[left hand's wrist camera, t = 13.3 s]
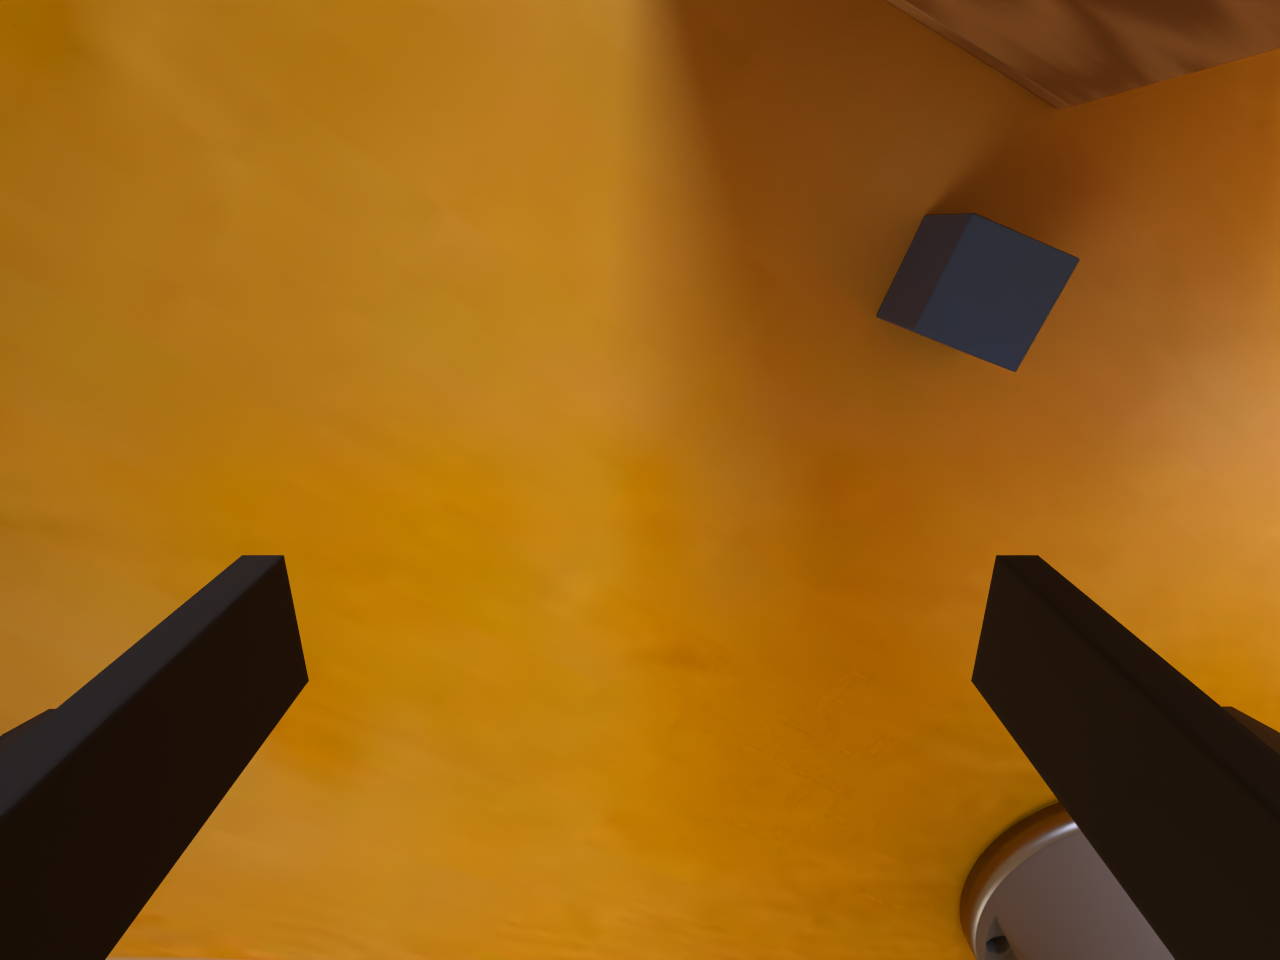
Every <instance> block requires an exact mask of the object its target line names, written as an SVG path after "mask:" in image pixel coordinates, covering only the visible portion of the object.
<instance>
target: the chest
mask: <svg viewBox="0 0 1280 960" xmlns="http://www.w3.org/2000/svg"><path fill="white" fill-rule="evenodd" d="M886 1H888V2H889V3H891V4H893V5H894V6H896V7H897V8H899V9H900V10H902V11H904V12H905V13H907V14H908V15H910V16H912V17H913V18H915V19H916V20H918V21H920V22H921V23H923V24H924V25H926V26H927V27H929V28H931V29H932V30H934V31H935V32H937V33H939V34H940V35H942V36H943V37H945V38H947V39H948V40H950V41H951V42H953V43H955V44H956V45H958V46H959V47H961V48H962V49H964V50H966V51H967V52H969V53H970V54H972V55H974V56H975V57H977V58H978V59H980V60H982V61H983V62H985V63H986V64H988V65H989V66H991V67H993V68H994V69H996V70H997V71H999V72H1001V73H1002V74H1004V75H1005V76H1007V77H1009V78H1010V79H1012V80H1013V81H1015V82H1017V83H1018V84H1020V85H1021V86H1023V87H1024V88H1026V89H1028V90H1029V91H1031V92H1032V93H1034V94H1036V95H1037V96H1039V97H1040V98H1042V99H1044V100H1045V101H1047V102H1048V103H1050V104H1051V105H1053V106H1055V107H1056V108H1058V109H1063V108H1066V107H1070V106H1075V105H1078V104H1082V103H1086V102H1089V101H1093V100H1096V99H1100V98H1104V97H1107V96H1111V95H1114V94H1118V93H1121V92H1125V91H1129V90H1132V89H1136V88H1139V87H1143V86H1147V85H1150V84H1154V83H1157V82H1161V81H1164V80H1168V79H1172V78H1175V77H1179V76H1182V75H1186V74H1190V73H1193V72H1197V71H1200V70H1204V69H1207V68H1211V67H1215V66H1218V65H1222V64H1225V63H1229V62H1233V61H1236V60H1240V59H1243V58H1247V57H1250V56H1254V55H1258V54H1261V53H1265V52H1268V51H1272V50H1276V49H1279V48H1280V0H886Z"/></svg>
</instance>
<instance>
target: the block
mask: <svg viewBox="0 0 1280 960" xmlns="http://www.w3.org/2000/svg"><path fill="white" fill-rule="evenodd" d="M1079 260H1080V259H1079V258H1077V257H1075V256H1073V255H1070V254H1068V253H1066V252H1063V251H1061V250H1059V249H1056V248H1054V247H1052V246H1049V245H1047V244H1045V243H1043V242H1040V241H1038V240H1036V239H1033V238H1031V237H1029V236H1026V235H1024V234H1022V233H1019V232H1017V231H1015V230H1013V229H1010V228H1008V227H1006V226H1003V225H1001V224H999V223H996V222H994V221H992V220H989V219H987V218H985V217H982V216H980V215H978V214H976V213H964V214H938V215H925V217H924V219H923V221H922V223H921V225H920V227H919V229H918V231H917V233H916V235H915V237H914V239H913V241H912V243H911V245H910V247H909V249H908V251H907V254H906V256H905V258H904V260H903V262H902V264H901V266H900V268H899V270H898V272H897V274H896V276H895V278H894V280H893V282H892V284H891V286H890V288H889V291H888V293H887V295H886V297H885V299H884V301H883V303H882V305H881V307H880V309H879V311H878V313H877V315H876V317H878V318H880V319H882V320H885V321H887V322H890V323H892V324H895V325H897V326H900V327H902V328H905V329H907V330H910V331H912V332H915V333H917V334H920V335H922V336H925V337H927V338H930V339H932V340H935V341H937V342H940V343H942V344H944V345H947V346H949V347H952V348H954V349H957V350H959V351H962V352H964V353H967V354H969V355H972V356H975V357H977V358H980V359H982V360H985V361H987V362H990V363H993V364H995V365H998V366H1000V367H1003V368H1005V369H1008V370H1011V371H1013V372H1016V371H1017V369H1018V367H1019V365H1020V364H1021V362H1022V360H1023V358H1024V357H1025V355H1026V353H1027V351H1028V349H1029V348H1030V346H1031V344H1032V342H1033V341H1034V339H1035V337H1036V335H1037V334H1038V332H1039V330H1040V328H1041V327H1042V325H1043V323H1044V321H1045V320H1046V318H1047V316H1048V314H1049V313H1050V311H1051V309H1052V307H1053V306H1054V304H1055V302H1056V300H1057V299H1058V297H1059V295H1060V293H1061V292H1062V290H1063V288H1064V286H1065V285H1066V283H1067V281H1068V279H1069V278H1070V276H1071V274H1072V272H1073V271H1074V269H1075V267H1076V265H1077V264H1078V262H1079Z"/></svg>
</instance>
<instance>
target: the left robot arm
mask: <svg viewBox="0 0 1280 960" xmlns="http://www.w3.org/2000/svg"><path fill="white" fill-rule="evenodd" d="M308 681H309V680H308V675H307V670H306V665H305V660H304V655H303V650H302V645H301V640H300V635H299V630H298V625H297V620H296V615H295V610H294V605H293V600H292V595H291V589H290V584H289V579H288V574H287V569H286V564H285V559H284V555H242V556H241V557H240V558H238V559H237V560H236V561H235V562H234V563H232V564H231V565H230V566H229V567H227V568H226V569H225V570H224V571H223V572H221V573H220V574H219V575H218V576H217V577H215V578H214V579H213V580H212V581H211V582H209V583H208V584H207V585H206V586H204V587H203V588H202V589H201V590H200V591H198V592H197V593H196V594H195V595H194V596H192V597H191V598H190V599H189V600H188V601H186V602H185V603H184V604H183V605H181V606H180V607H179V608H178V609H177V610H175V611H174V612H173V613H172V614H171V615H169V616H168V617H167V618H166V619H164V620H163V621H162V622H161V623H160V624H158V625H157V626H156V627H155V628H154V629H152V630H151V631H150V632H149V633H148V634H146V635H145V636H144V637H143V638H141V639H140V640H139V641H138V642H137V643H135V644H134V645H133V646H132V647H131V648H129V649H128V650H127V651H126V652H125V653H123V654H122V655H121V656H120V657H118V658H117V659H116V660H115V661H114V662H112V663H111V664H110V665H109V666H108V667H106V668H105V669H104V670H103V671H102V672H100V673H99V674H98V675H97V676H95V677H94V678H93V679H92V680H91V681H89V682H88V683H87V684H86V685H85V686H83V687H82V688H81V689H80V690H78V691H77V692H76V693H75V694H74V695H72V696H71V697H70V698H69V699H68V700H66V701H65V702H64V703H63V704H62V705H60V706H59V707H58V708H57V709H49V710H47V711H45V712H43V713H41V714H39V715H38V716H36V717H34V718H32V719H30V720H28V721H27V722H25V723H23V724H21V725H19V726H17V727H16V728H14V729H12V730H10V731H8V732H6V733H5V734H3V735H2V736H0V960H105V959H106V958H107V956H108V955H109V954H110V952H111V951H112V949H113V948H114V947H115V945H116V944H117V943H118V941H119V940H120V938H121V937H122V936H123V934H124V933H125V932H126V930H127V929H128V927H129V926H130V925H131V923H132V922H133V921H134V919H135V918H136V917H137V915H138V914H139V912H140V911H141V910H142V908H143V907H144V906H145V904H146V903H147V901H148V900H149V899H150V897H151V896H152V895H153V893H154V892H155V891H156V889H157V888H158V886H159V885H160V884H161V882H162V881H163V880H164V878H165V877H166V875H167V874H168V873H169V871H170V870H171V869H172V867H173V866H174V864H175V863H176V862H177V860H178V859H179V858H180V856H181V855H182V854H183V852H184V851H185V849H186V848H187V847H188V845H189V844H190V843H191V841H192V840H193V838H194V837H195V836H196V834H197V833H198V832H199V830H200V829H201V828H202V826H203V825H204V823H205V822H206V821H207V819H208V818H209V817H210V815H211V814H212V812H213V811H214V810H215V808H216V807H217V806H218V804H219V803H220V801H221V800H222V799H223V797H224V796H225V795H226V793H227V792H228V791H229V789H230V788H231V786H232V785H233V784H234V782H235V781H236V780H237V778H238V777H239V775H240V774H241V773H242V771H243V770H244V769H245V767H246V766H247V765H248V763H249V762H250V760H251V759H252V758H253V756H254V755H255V754H256V752H257V751H258V749H259V748H260V747H261V745H262V744H263V743H264V741H265V740H266V738H267V737H268V736H269V734H270V733H271V732H272V730H273V729H274V728H275V726H276V725H277V723H278V722H279V721H280V719H281V718H282V717H283V715H284V714H285V712H286V711H287V710H288V708H289V707H290V706H291V704H292V703H293V702H294V700H295V699H296V697H297V696H298V695H299V693H300V692H301V691H302V689H303V688H304V686H305V685H306V684H307V682H308ZM971 681H972V682H973V684H974V685H975V686H976V688H977V689H978V691H979V692H980V693H981V695H982V696H983V697H984V699H985V700H986V702H987V703H988V704H989V706H990V707H991V708H992V710H993V711H994V712H995V714H996V715H997V717H998V718H999V719H1000V721H1001V722H1002V723H1003V725H1004V726H1005V728H1006V729H1007V730H1008V732H1009V733H1010V734H1011V736H1012V737H1013V738H1014V740H1015V741H1016V743H1017V744H1018V745H1019V747H1020V748H1021V749H1022V751H1023V752H1024V754H1025V755H1026V756H1027V758H1028V759H1029V760H1030V762H1031V763H1032V765H1033V766H1034V767H1035V769H1036V770H1037V771H1038V773H1039V774H1040V775H1041V777H1042V778H1043V780H1044V781H1045V782H1046V784H1047V785H1048V786H1049V788H1050V789H1051V791H1052V792H1053V793H1054V795H1055V796H1056V797H1057V799H1058V800H1059V801H1060V803H1057V804H1055V805H1052V806H1050V807H1047V808H1045V809H1043V810H1041V811H1039V812H1037V813H1035V814H1033V815H1031V816H1029V817H1027V818H1026V819H1024V820H1022V821H1021V822H1019V823H1018V824H1016V825H1015V826H1013V827H1012V828H1010V829H1009V830H1008V831H1006V832H1005V833H1004V834H1003V835H1001V836H1000V837H999V838H998V839H997V840H996V841H995V842H994V843H993V844H991V845H990V846H989V847H988V849H987V850H986V851H985V852H984V853H983V854H982V855H981V857H980V858H979V860H978V861H977V862H976V864H975V865H974V867H973V869H972V870H971V872H970V874H969V876H968V878H967V880H966V883H965V885H964V888H963V892H962V895H961V901H960V919H961V925H962V928H963V932H964V934H965V936H966V939H967V941H968V943H969V945H970V948H971V950H972V952H973V954H974V956H975V958H976V960H1280V733H1279V732H1277V731H1275V730H1274V729H1272V728H1270V727H1268V726H1266V725H1264V724H1263V723H1261V722H1259V721H1257V720H1255V719H1253V718H1252V717H1250V716H1248V715H1246V714H1244V713H1242V712H1240V711H1239V710H1237V709H1235V708H1233V707H1221V706H1220V705H1218V704H1217V703H1216V702H1215V701H1214V700H1212V699H1211V698H1210V697H1209V696H1208V695H1206V694H1205V693H1204V692H1203V691H1202V690H1200V689H1199V688H1198V687H1197V686H1195V685H1194V684H1193V683H1192V682H1191V681H1189V680H1188V679H1187V678H1186V677H1185V676H1183V675H1182V674H1181V673H1180V672H1178V671H1177V670H1176V669H1175V668H1174V667H1172V666H1171V665H1170V664H1169V663H1168V662H1166V661H1165V660H1164V659H1163V658H1162V657H1160V656H1159V655H1158V654H1157V653H1155V652H1154V651H1153V650H1152V649H1151V648H1149V647H1148V646H1147V645H1146V644H1145V643H1143V642H1142V641H1141V640H1140V639H1139V638H1137V637H1136V636H1135V635H1134V634H1132V633H1131V632H1130V631H1129V630H1128V629H1126V628H1125V627H1124V626H1123V625H1122V624H1120V623H1119V622H1118V621H1117V620H1116V619H1114V618H1113V617H1112V616H1111V615H1109V614H1108V613H1107V612H1106V611H1105V610H1103V609H1102V608H1101V607H1100V606H1099V605H1097V604H1096V603H1095V602H1094V601H1092V600H1091V599H1090V598H1089V597H1088V596H1086V595H1085V594H1084V593H1083V592H1082V591H1080V590H1079V589H1078V588H1077V587H1076V586H1074V585H1073V584H1072V583H1071V582H1069V581H1068V580H1067V579H1066V578H1065V577H1063V576H1062V575H1061V574H1060V573H1059V572H1057V571H1056V570H1055V569H1054V568H1053V567H1051V566H1050V565H1049V564H1048V563H1046V562H1045V561H1044V560H1043V559H1042V558H1040V557H1039V556H1038V555H996V559H995V564H994V569H993V574H992V579H991V584H990V589H989V595H988V600H987V605H986V610H985V615H984V620H983V625H982V630H981V635H980V640H979V645H978V650H977V655H976V660H975V665H974V670H973V675H972V680H971Z"/></svg>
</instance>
